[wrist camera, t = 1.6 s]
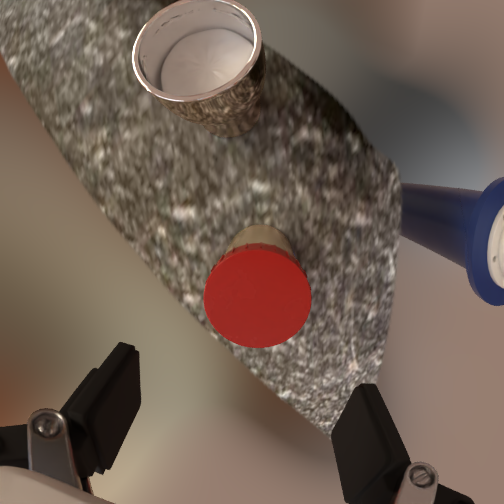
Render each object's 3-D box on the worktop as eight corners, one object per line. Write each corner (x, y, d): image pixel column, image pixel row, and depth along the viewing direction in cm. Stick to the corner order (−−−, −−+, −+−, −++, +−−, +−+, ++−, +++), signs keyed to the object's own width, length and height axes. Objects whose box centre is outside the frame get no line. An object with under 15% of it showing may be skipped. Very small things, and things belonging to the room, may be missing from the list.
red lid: (291, 227, 19) (293, 233, 17) (319, 318, 20) (323, 331, 19) (192, 261, 20) (185, 269, 18) (229, 344, 21) (226, 359, 19)
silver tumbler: (264, 75, 24) (264, -13, 10) (266, 141, 26) (268, 101, 12) (194, 79, 25) (135, 5, 10) (193, 144, 27) (123, 115, 12)
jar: (280, 215, 28) (290, 237, 18) (300, 275, 29) (317, 325, 19) (218, 236, 29) (193, 269, 18) (240, 294, 30) (229, 351, 20)
